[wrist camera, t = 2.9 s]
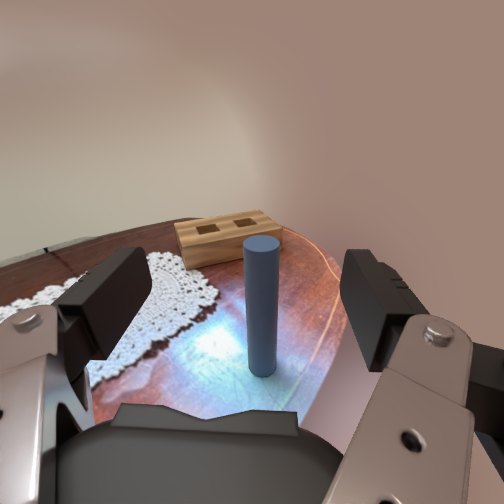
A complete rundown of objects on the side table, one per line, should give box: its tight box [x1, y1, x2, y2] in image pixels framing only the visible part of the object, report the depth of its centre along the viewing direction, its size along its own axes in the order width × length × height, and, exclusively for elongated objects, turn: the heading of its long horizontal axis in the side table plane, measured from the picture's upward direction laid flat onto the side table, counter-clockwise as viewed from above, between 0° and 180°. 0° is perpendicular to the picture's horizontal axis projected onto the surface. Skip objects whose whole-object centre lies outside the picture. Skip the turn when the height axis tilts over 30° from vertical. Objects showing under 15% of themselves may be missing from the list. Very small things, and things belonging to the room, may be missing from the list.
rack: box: [174, 210, 283, 270], centre depth 55 cm, size 12×20×5 cm, turn 112°
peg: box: [243, 235, 280, 377], centre depth 26 cm, size 3×3×16 cm
